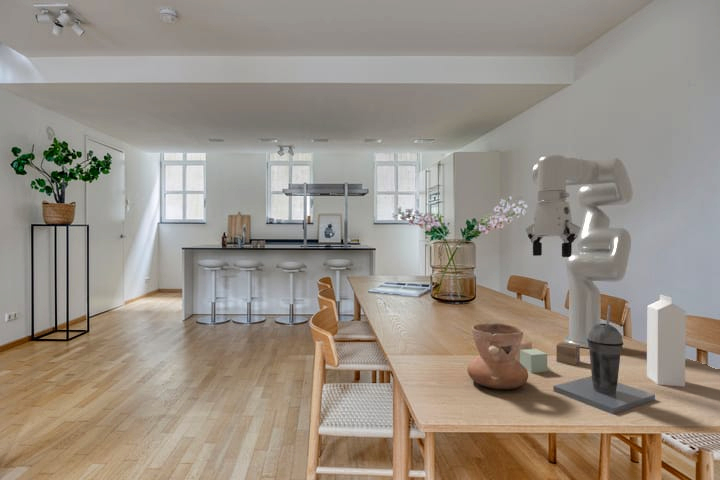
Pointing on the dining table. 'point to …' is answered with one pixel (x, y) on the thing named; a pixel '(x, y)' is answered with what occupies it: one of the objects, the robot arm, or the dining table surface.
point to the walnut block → (568, 353)
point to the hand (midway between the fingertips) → (551, 256)
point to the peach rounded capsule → (523, 348)
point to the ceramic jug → (497, 356)
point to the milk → (666, 342)
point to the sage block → (533, 360)
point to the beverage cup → (605, 356)
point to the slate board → (604, 395)
